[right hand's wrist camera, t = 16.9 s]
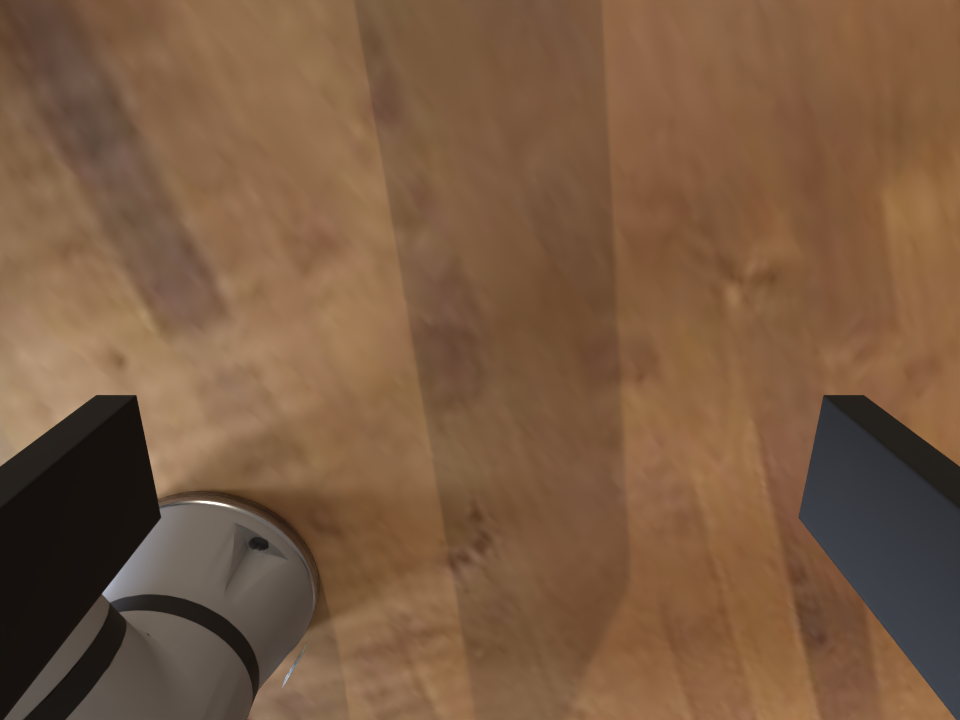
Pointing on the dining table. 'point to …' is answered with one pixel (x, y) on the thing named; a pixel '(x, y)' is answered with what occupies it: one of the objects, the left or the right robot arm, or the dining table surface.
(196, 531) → the right robot arm
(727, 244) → the dining table surface
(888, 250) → the dining table surface
